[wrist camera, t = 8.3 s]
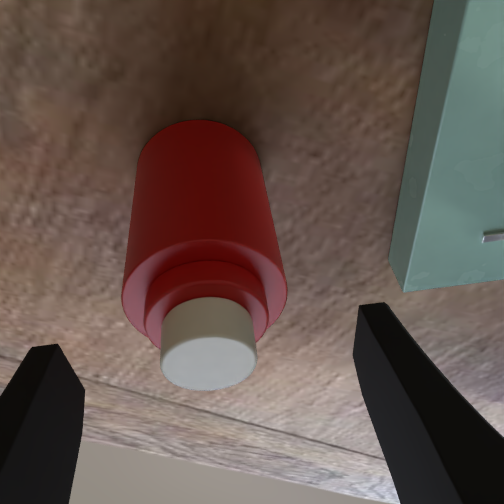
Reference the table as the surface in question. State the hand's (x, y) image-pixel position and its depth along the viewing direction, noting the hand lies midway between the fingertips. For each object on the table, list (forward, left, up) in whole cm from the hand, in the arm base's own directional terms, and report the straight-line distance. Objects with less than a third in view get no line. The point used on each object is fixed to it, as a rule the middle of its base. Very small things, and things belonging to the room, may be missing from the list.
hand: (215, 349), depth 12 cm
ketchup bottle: (0, 0, -8) cm, 8 cm away
